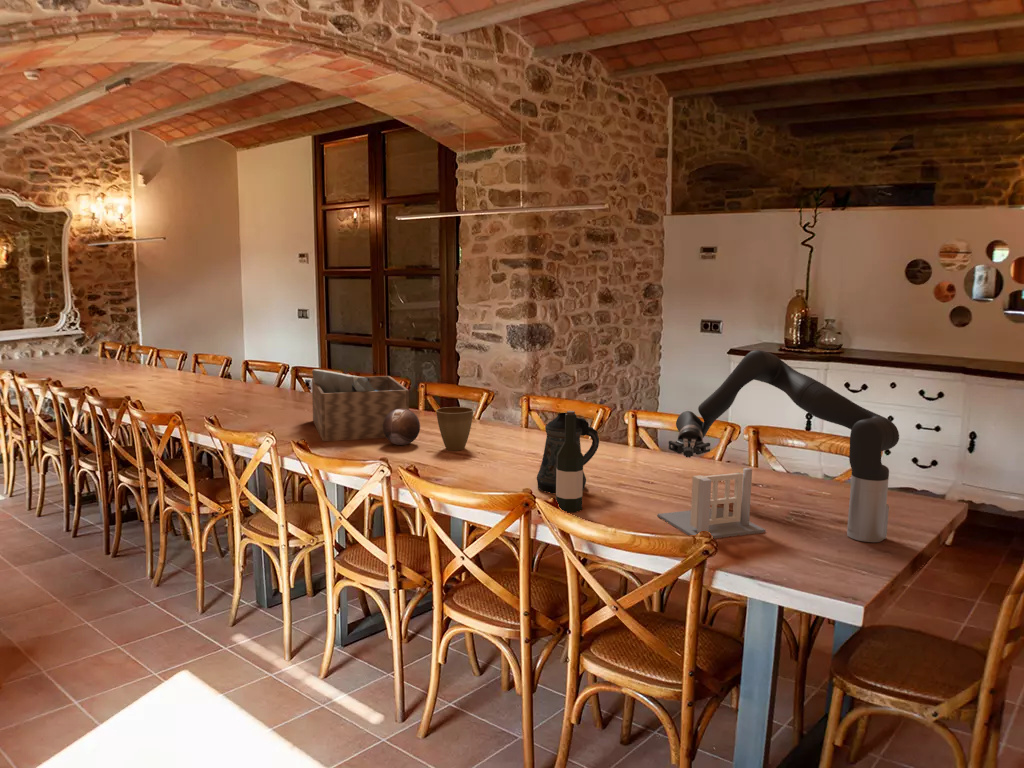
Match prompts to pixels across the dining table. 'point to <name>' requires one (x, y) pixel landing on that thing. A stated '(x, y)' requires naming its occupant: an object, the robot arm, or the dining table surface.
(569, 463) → the wine bottle
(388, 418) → the wooden sphere
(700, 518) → the gate frame
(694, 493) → the gate
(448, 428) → the plant pot
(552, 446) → the beer stein
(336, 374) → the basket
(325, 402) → the crate
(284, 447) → the dining table surface
